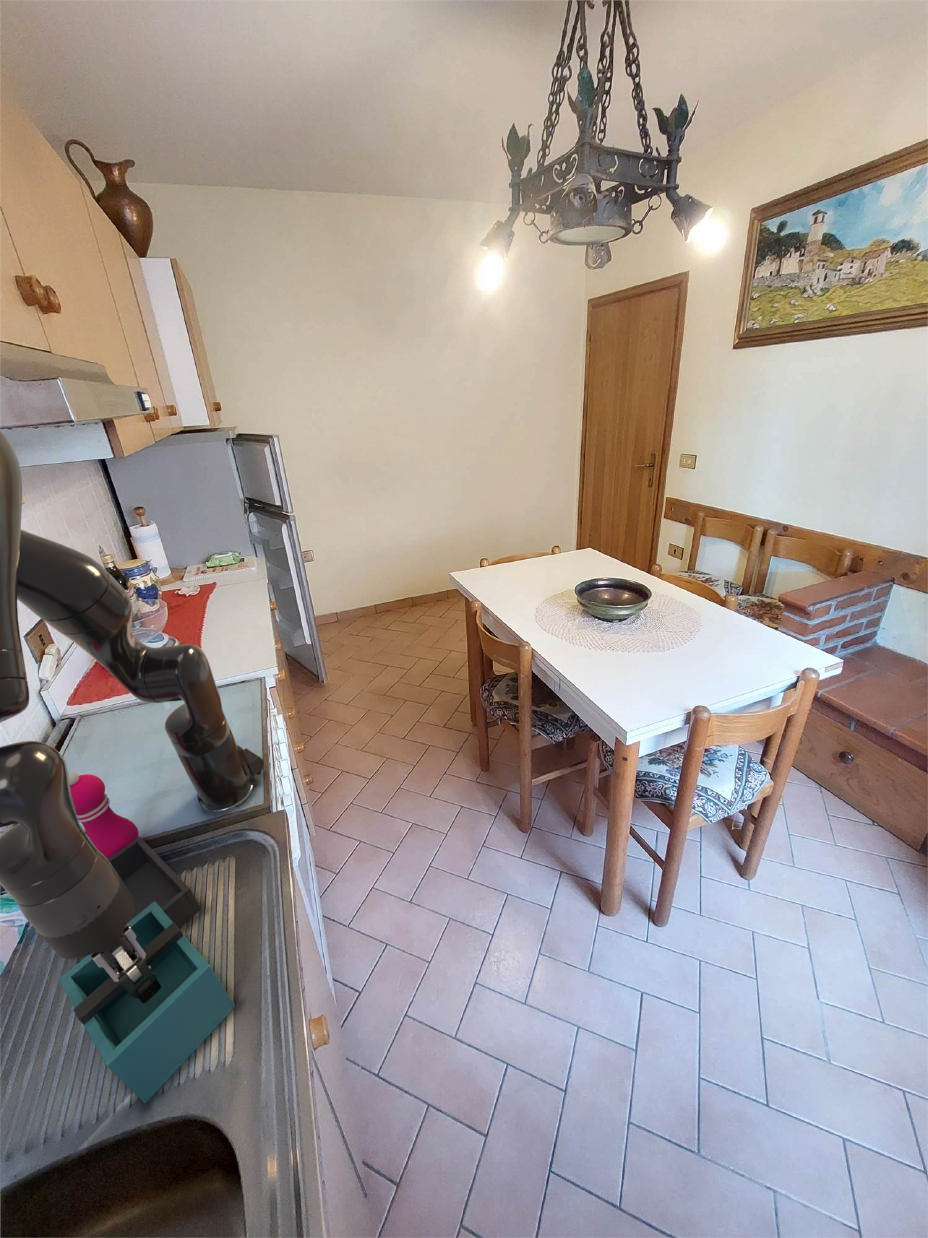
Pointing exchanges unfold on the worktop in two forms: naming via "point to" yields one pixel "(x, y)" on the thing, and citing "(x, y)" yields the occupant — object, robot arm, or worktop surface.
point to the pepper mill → (100, 815)
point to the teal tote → (150, 1006)
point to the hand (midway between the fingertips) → (142, 982)
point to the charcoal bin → (153, 883)
